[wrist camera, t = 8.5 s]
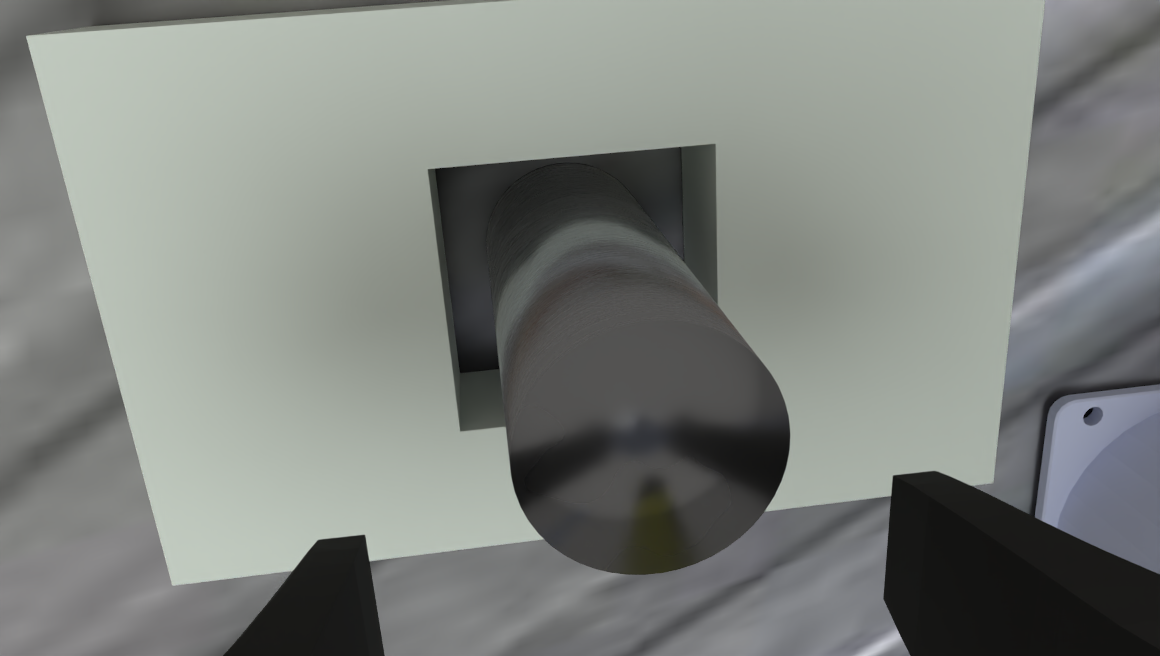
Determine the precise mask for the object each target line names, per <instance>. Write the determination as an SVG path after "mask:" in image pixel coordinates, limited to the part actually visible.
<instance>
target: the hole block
mask: <svg viewBox="0 0 1160 656" xmlns="http://www.w3.org/2000/svg"><path fill="white" fill-rule="evenodd" d="M1044 6H1045V0H446V1H432V2H419V3H405V4H391V5H377V6H364V7H350V8H336V9H322V10H308V11H295V12H281V13H267V14H253V15H240V16H226V17H212V18H198V19H184V20H171V21H157V22H143V23H129V24H116V25H102V26H90V27H83V28H76V29H70V30H63V31H56V32H50V33H43V34H36V35H30V36H26V38H27V41H28V45H29V49H30V53H31V56H32V60H33V64H34V68H35V71H36V75H37V79H38V83H39V86H40V90H41V94H42V98H43V101H44V105H45V109H46V113H47V116H48V120H49V124H50V128H51V131H52V135H53V139H54V143H55V146H56V150H57V154H58V158H59V161H60V165H61V169H62V173H63V177H64V180H65V184H66V188H67V192H68V195H69V199H70V203H71V207H72V210H73V214H74V218H75V222H76V225H77V229H78V233H79V237H80V240H81V244H82V248H83V252H84V255H85V259H86V263H87V267H88V270H89V274H90V278H91V282H92V285H93V289H94V293H95V297H96V300H97V304H98V308H99V312H100V315H101V319H102V323H103V327H104V330H105V334H106V338H107V342H108V345H109V349H110V353H111V357H112V360H113V364H114V368H115V372H116V375H117V379H118V383H119V387H120V390H121V394H122V398H123V402H124V405H125V409H126V413H127V417H128V420H129V424H130V428H131V432H132V435H133V439H134V443H135V447H136V450H137V454H138V458H139V462H140V465H141V469H142V473H143V477H144V480H145V484H146V488H147V492H148V495H149V499H150V503H151V507H152V511H153V514H154V518H155V522H156V526H157V529H158V533H159V537H160V541H161V544H162V548H163V552H164V556H165V559H166V563H167V567H168V571H169V574H170V578H171V582H172V586H174V585H182V584H190V583H198V582H206V581H214V580H222V579H230V578H238V577H246V576H254V575H262V574H270V573H278V572H286V571H293V570H294V569H295V568H296V566H297V565H298V564H299V562H300V561H301V560H302V558H303V557H304V556H305V555H306V553H307V552H308V551H309V550H310V548H311V547H312V546H313V545H314V544H315V543H316V542H317V540H320V539H329V538H338V537H347V536H356V535H365V537H366V543H367V549H368V556H369V561H374V560H382V559H390V558H398V557H406V556H414V555H422V554H430V553H438V552H446V551H454V550H462V549H470V548H478V547H486V546H494V545H502V544H510V543H518V542H526V541H534V540H542V539H544V538H542V537H541V536H540V535H539V534H538V532H537V531H536V530H535V529H534V527H533V526H532V525H531V524H530V522H529V521H528V519H527V517H526V516H525V514H524V512H523V510H522V509H521V507H520V504H519V502H518V499H517V497H516V494H515V491H514V487H513V482H512V478H511V471H510V462H509V452H508V443H507V434H506V424H505V415H504V406H503V396H502V387H501V378H500V369H496V370H486V371H477V372H468V373H460V371H459V362H458V354H457V346H456V338H455V329H454V321H453V313H452V305H451V297H450V288H449V280H448V272H447V264H446V256H445V247H444V239H443V231H442V223H441V214H440V206H439V198H438V190H437V182H436V173H435V168H447V167H458V166H469V165H480V164H492V163H503V162H514V161H526V160H537V159H548V158H560V157H571V156H582V155H593V154H605V153H616V152H627V151H639V150H650V149H661V148H673V147H681V154H682V193H683V231H684V263H685V264H686V265H687V266H688V268H689V269H690V270H691V272H692V273H693V274H694V275H695V277H696V278H697V279H698V281H699V282H700V283H701V284H702V286H703V287H704V288H705V290H706V291H707V292H708V293H709V295H710V296H711V297H712V299H713V300H714V301H715V302H716V304H717V305H718V306H719V307H720V309H721V310H722V311H723V313H724V314H725V315H726V316H727V318H728V319H729V320H730V322H731V323H732V324H733V325H734V327H735V328H736V329H737V331H738V332H739V333H740V334H741V336H742V337H743V338H744V340H745V341H746V342H747V343H748V345H749V346H750V347H751V348H752V350H753V351H754V352H755V354H756V355H757V356H758V357H759V359H760V360H761V361H762V363H763V364H764V365H765V366H766V368H767V369H768V370H769V372H770V373H771V375H772V376H773V378H774V380H775V381H776V383H777V385H778V386H779V388H780V391H781V393H782V396H783V398H784V400H785V404H786V408H787V412H788V416H789V424H790V451H789V456H788V461H787V466H786V469H785V472H784V475H783V478H782V481H781V483H780V486H779V488H778V490H777V492H776V494H775V496H774V498H773V499H772V501H771V502H770V504H769V505H768V507H767V508H766V510H765V512H766V511H774V510H782V509H790V508H798V507H806V506H814V505H822V504H830V503H838V502H846V501H854V500H862V499H870V498H878V497H886V496H891V493H892V479H893V475H900V474H909V473H918V472H927V471H938V472H940V473H943V474H945V475H948V476H950V477H953V478H955V479H957V480H959V481H962V482H964V483H966V484H968V485H970V486H974V485H982V484H990V483H993V480H994V470H995V461H996V452H997V443H998V433H999V424H1000V415H1001V405H1002V396H1003V387H1004V377H1005V368H1006V359H1007V350H1008V340H1009V331H1010V322H1011V312H1012V303H1013V294H1014V285H1015V275H1016V266H1017V257H1018V247H1019V238H1020V229H1021V219H1022V210H1023V201H1024V192H1025V182H1026V173H1027V164H1028V154H1029V145H1030V136H1031V127H1032V117H1033V108H1034V99H1035V89H1036V80H1037V71H1038V61H1039V52H1040V43H1041V34H1042V24H1043V15H1044Z"/></svg>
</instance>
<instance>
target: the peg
mask: <svg viewBox="0 0 1160 656" xmlns="http://www.w3.org/2000/svg"><path fill="white" fill-rule="evenodd" d="M486 245H487V257H488V266H489V275H490V285H491V294H492V303H493V313H494V322H495V331H496V341H497V350H498V359H499V369H500V378H501V387H502V396H503V406H504V415H505V424H506V434H507V443H508V452H509V462H510V471H511V478H512V482H513V487H514V491H515V494H516V497H517V499H518V502H519V504H520V507H521V509H522V510H523V512H524V514H525V516H526V517H527V519H528V521H529V522H530V524H531V525H532V526H533V527H534V529H535V530H536V531H537V532H538V534H539V535H540V536H541V537H542V538H544V539H545V540H546V541H547V542H548V543H549V544H550V545H551V546H552V547H554V548H555V549H557V550H558V551H559V552H561V553H562V554H564V555H565V556H567V557H569V558H571V559H573V560H575V561H577V562H579V563H581V564H584V565H586V566H589V567H592V568H595V569H599V570H603V571H607V572H612V573H620V574H635V575H645V574H655V573H663V572H668V571H672V570H677V569H681V568H684V567H687V566H690V565H693V564H696V563H698V562H700V561H702V560H705V559H707V558H709V557H711V556H713V555H715V554H716V553H718V552H720V551H721V550H723V549H725V548H726V547H728V546H729V545H731V544H732V543H733V542H734V541H736V540H737V539H738V538H740V537H741V536H742V535H743V534H744V533H745V532H746V531H747V530H748V529H749V528H751V527H752V526H753V525H754V523H755V522H756V521H757V520H758V519H759V517H760V516H761V515H762V514H763V513H764V512H765V510H766V508H767V507H768V505H769V504H770V502H771V501H772V499H773V498H774V496H775V494H776V492H777V490H778V488H779V486H780V483H781V481H782V478H783V475H784V472H785V469H786V466H787V461H788V456H789V451H790V424H789V416H788V412H787V408H786V404H785V400H784V398H783V396H782V393H781V391H780V388H779V386H778V385H777V383H776V381H775V380H774V378H773V376H772V375H771V373H770V372H769V370H768V369H767V368H766V366H765V365H764V364H763V363H762V361H761V360H760V359H759V357H758V356H757V355H756V354H755V352H754V351H753V350H752V348H751V347H750V346H749V345H748V343H747V342H746V341H745V340H744V338H743V337H742V336H741V334H740V333H739V332H738V331H737V329H736V328H735V327H734V325H733V324H732V323H731V322H730V320H729V319H728V318H727V316H726V315H725V314H724V313H723V311H722V310H721V309H720V307H719V306H718V305H717V304H716V302H715V301H714V300H713V299H712V297H711V296H710V295H709V293H708V292H707V291H706V290H705V288H704V287H703V286H702V284H701V283H700V282H699V281H698V279H697V278H696V277H695V275H694V274H693V273H692V272H691V270H690V269H689V268H688V266H687V265H686V264H685V263H684V261H683V260H682V259H681V258H680V256H679V255H678V254H677V252H676V251H675V250H674V249H673V247H672V246H671V245H670V243H669V242H668V241H667V240H666V238H665V237H664V236H663V234H662V233H661V232H660V231H659V229H658V228H657V227H656V226H655V224H654V223H653V222H652V220H651V219H650V218H649V217H648V215H647V214H646V213H645V211H644V210H643V209H642V208H641V206H640V205H639V204H638V202H637V201H636V200H635V199H634V197H633V196H632V195H631V194H630V192H629V191H628V190H627V189H626V188H625V186H623V185H622V184H621V183H620V182H619V181H618V180H617V179H615V178H614V177H612V176H611V175H610V174H608V173H606V172H604V171H602V170H600V169H597V168H594V167H592V166H588V165H583V164H577V163H559V164H553V165H548V166H545V167H542V168H539V169H536V170H534V171H532V172H530V173H528V174H526V175H525V176H523V177H522V178H520V179H519V180H517V181H516V182H515V183H514V184H513V185H512V186H510V187H509V189H508V190H507V191H506V192H505V193H504V194H503V195H502V197H501V198H500V200H499V201H498V203H497V205H496V207H495V209H494V211H493V213H492V215H491V218H490V221H489V225H488V230H487V241H486Z"/></svg>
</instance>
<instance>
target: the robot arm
mask: <svg viewBox="0 0 1160 656" xmlns="http://www.w3.org/2000/svg"><path fill="white" fill-rule="evenodd" d="M1090 408H1093V410H1092V413H1091V414H1090V415H1089V416H1088V417H1086V418H1083V417H1084V414H1085V412H1086V411H1087V410H1089V409H1090ZM884 601H885V603H886V605H887V607H888V609H889V612H890V614H891V616H892V618H893V620H894V623H895V625H896V627H897V629H898V631H899V633H900V635H901V637H902V639H903V641H904V643H905V645H906V647H907V649H908V651H909V653H910V655H911V656H1160V384H1158V385H1150V386H1141V387H1133V388H1124V389H1115V390H1107V391H1098V392H1090V393H1081V394H1073V395H1067V396H1064V397H1061V398H1059V399H1058V400H1057V401H1055V402H1054V403H1053V405H1052V406H1051V407H1050V410H1049V413H1048V417H1047V425H1046V433H1045V441H1044V448H1043V456H1042V464H1041V472H1040V480H1039V488H1038V495H1037V503H1036V511H1035V517H1033V516H1031V515H1029V514H1027V513H1025V512H1023V511H1021V510H1019V509H1017V508H1015V507H1013V506H1011V505H1009V504H1007V503H1005V502H1003V501H1001V500H999V499H997V498H995V497H993V496H991V495H989V494H987V493H985V492H983V491H981V490H979V489H976V488H974V487H972V486H970V485H968V484H966V483H964V482H962V481H959V480H957V479H955V478H953V477H950V476H948V475H945V474H943V473H940V472H938V471H927V472H918V473H909V474H900V475H893V479H892V493H891V506H890V519H889V533H888V546H887V559H886V573H885V586H884ZM223 656H384V650H383V644H382V637H381V631H380V625H379V618H378V612H377V606H376V600H375V593H374V587H373V581H372V575H371V568H370V562H369V556H368V549H367V543H366V537H365V535H356V536H347V537H338V538H329V539H320V540H317V542H316V543H315V544H314V545H313V546H312V547H311V548H310V550H309V551H308V552H307V553H306V555H305V556H304V557H303V558H302V560H301V561H300V562H299V564H298V565H297V566H296V568H295V569H294V570H293V571H292V573H291V574H290V575H289V577H288V578H287V579H286V581H285V582H284V583H283V584H282V586H281V587H280V588H279V590H278V591H277V592H276V593H275V595H274V596H273V597H272V598H271V600H270V601H269V602H268V603H267V605H266V606H265V607H264V608H263V610H262V611H261V612H260V613H259V614H258V616H257V617H256V618H255V619H254V620H253V622H252V623H251V624H250V625H249V626H248V628H247V629H246V630H245V631H244V632H243V634H242V635H241V636H240V637H239V638H238V640H237V641H236V642H235V643H234V644H233V645H232V647H231V648H230V649H229V650H228V651H227V652H226V653H225V654H224V655H223Z"/></svg>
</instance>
